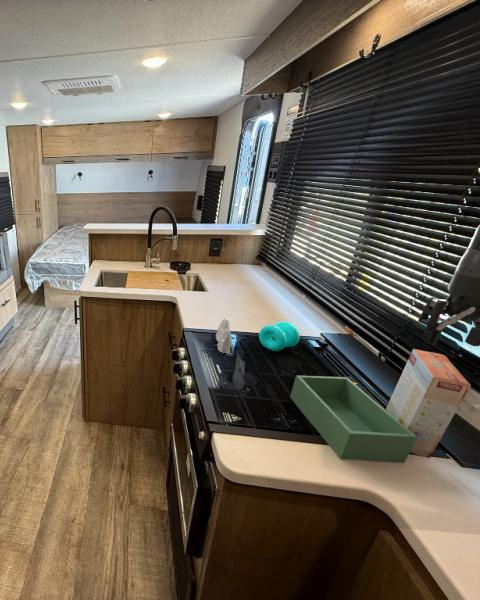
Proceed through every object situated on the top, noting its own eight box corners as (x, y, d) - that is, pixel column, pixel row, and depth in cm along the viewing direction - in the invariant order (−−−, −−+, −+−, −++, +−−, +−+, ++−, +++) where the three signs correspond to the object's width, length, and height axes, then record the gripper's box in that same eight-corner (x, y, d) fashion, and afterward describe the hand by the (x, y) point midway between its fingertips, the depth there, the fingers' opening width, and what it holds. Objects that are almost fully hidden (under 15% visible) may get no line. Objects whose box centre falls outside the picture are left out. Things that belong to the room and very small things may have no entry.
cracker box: (431, 460, 70) (473, 385, 62) (395, 449, 73) (431, 376, 65) (413, 422, 81) (447, 354, 73) (382, 413, 84) (411, 347, 76)
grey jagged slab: (214, 338, 124) (218, 314, 120) (225, 340, 123) (230, 315, 118) (217, 354, 113) (222, 327, 109) (230, 355, 112) (235, 328, 108)
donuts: (297, 351, 114) (304, 327, 111) (279, 357, 111) (285, 332, 107) (273, 339, 123) (278, 316, 119) (255, 344, 119) (260, 321, 116)
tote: (339, 399, 89) (347, 377, 87) (404, 463, 69) (417, 437, 67) (289, 397, 91) (296, 375, 88) (340, 459, 71) (350, 433, 68)
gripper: (465, 278, 58) (430, 351, 64) (550, 279, 57) (506, 354, 63) (427, 267, 65) (399, 334, 71) (502, 268, 64) (467, 336, 70)
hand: (449, 343), depth 67 cm, fingers open, 8 cm apart
